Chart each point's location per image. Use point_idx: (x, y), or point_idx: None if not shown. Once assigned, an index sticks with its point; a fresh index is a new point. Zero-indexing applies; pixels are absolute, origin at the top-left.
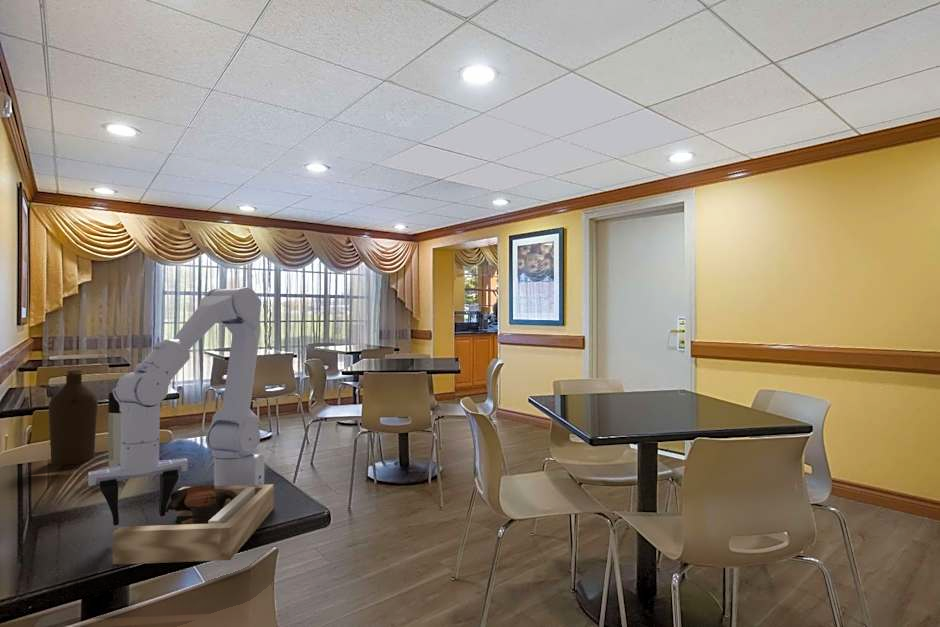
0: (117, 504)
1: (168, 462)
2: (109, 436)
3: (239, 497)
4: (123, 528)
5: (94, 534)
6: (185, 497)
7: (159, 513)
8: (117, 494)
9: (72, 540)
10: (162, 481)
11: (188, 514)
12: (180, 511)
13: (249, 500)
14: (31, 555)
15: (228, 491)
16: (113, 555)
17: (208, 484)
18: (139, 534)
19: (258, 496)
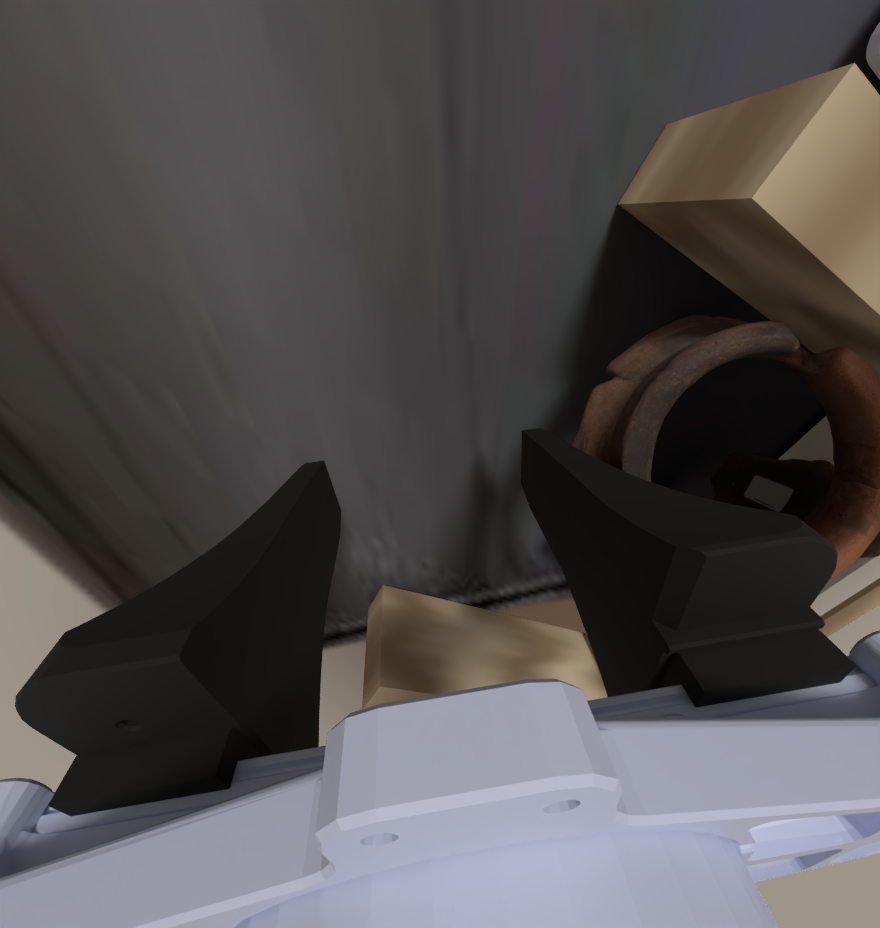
0: (322, 621)
1: (828, 840)
2: None
3: (843, 590)
4: (391, 699)
5: (187, 284)
6: (712, 368)
7: (522, 450)
8: (315, 705)
9: (98, 326)
10: (616, 671)
11: (670, 242)
12: (647, 216)
13: (842, 609)
14: (4, 441)
15: (868, 556)
16: (368, 631)
17: (854, 561)
18: None
19: None
